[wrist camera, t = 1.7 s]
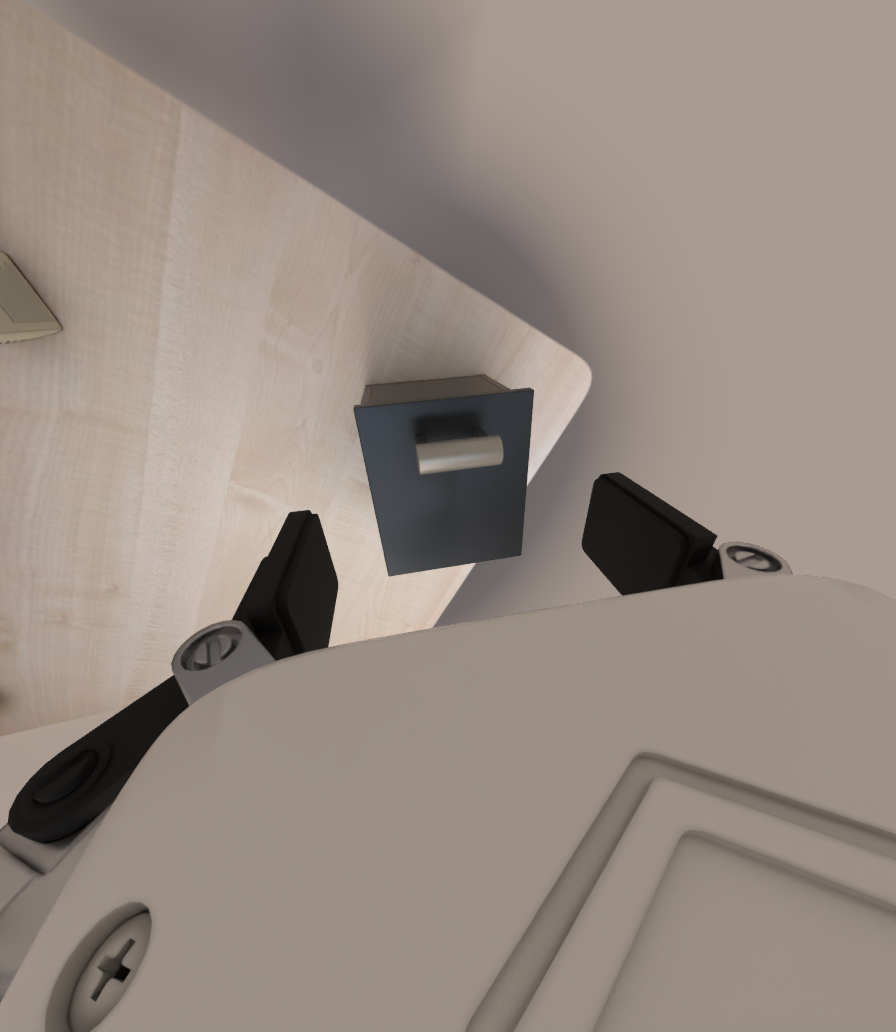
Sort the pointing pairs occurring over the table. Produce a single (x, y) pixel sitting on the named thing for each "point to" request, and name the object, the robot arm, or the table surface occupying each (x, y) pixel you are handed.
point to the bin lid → (448, 476)
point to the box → (21, 307)
